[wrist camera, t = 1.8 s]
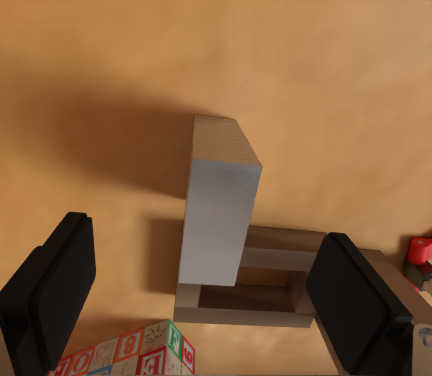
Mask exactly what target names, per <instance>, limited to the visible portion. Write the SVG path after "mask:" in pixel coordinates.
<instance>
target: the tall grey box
mask: <svg viewBox="0 0 432 376" xmlns="http://www.w3.org/2000/svg"><path fill="white" fill-rule="evenodd" d="M262 167H263V166H262V164H261V163H260V161H259V159H258V157H257V156H256V154H255V152H254V150H253V149H252V147H251V145H250V143H249V142H248V140H247V138H246V136H245V135H244V133H243V131H242V129H241V127H240V126H239V124H238V122H237V120H233V119H226V118H218V117H211V116H203V115H196V114H195V118H194V128H193V137H192V146H191V156H190V165H189V174H188V184H187V193H186V203H185V214H184V226H183V237H182V248H181V259H180V271H179V282H178V283H188V284H205V285H221V286H234V285H235V281H236V277H237V273H238V268H239V264H240V260H241V256H242V252H243V247H244V243H245V239H246V235H247V230H248V226H249V222H250V218H251V214H252V209H253V205H254V201H255V197H256V192H257V188H258V184H259V180H260V175H261V171H262Z"/></svg>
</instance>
